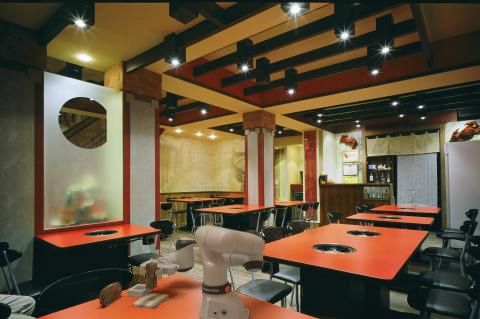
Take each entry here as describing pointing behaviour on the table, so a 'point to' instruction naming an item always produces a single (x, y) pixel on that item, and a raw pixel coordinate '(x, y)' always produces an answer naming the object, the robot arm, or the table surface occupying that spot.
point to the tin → (110, 294)
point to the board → (150, 300)
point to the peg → (151, 275)
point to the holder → (138, 291)
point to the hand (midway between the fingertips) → (150, 272)
